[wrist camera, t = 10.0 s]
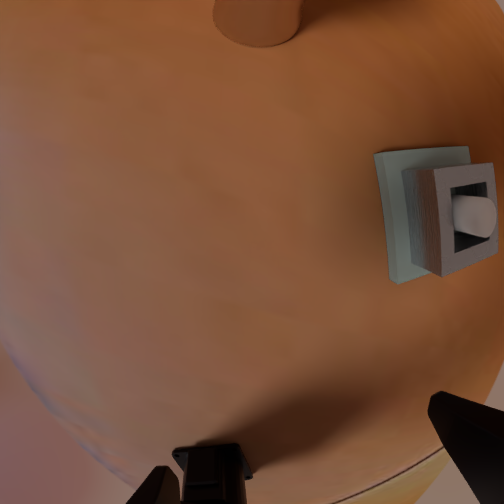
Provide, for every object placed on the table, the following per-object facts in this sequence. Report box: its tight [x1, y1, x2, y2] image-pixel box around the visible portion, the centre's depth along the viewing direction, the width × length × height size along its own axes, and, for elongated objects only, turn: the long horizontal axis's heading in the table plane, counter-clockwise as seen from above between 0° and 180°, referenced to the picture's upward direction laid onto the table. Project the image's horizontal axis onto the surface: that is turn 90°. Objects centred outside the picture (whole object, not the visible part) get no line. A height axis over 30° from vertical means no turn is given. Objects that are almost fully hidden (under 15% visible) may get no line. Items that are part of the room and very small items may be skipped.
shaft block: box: [373, 146, 496, 284], centre depth 16 cm, size 9×9×6 cm
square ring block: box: [401, 163, 498, 277], centre depth 16 cm, size 6×6×4 cm
